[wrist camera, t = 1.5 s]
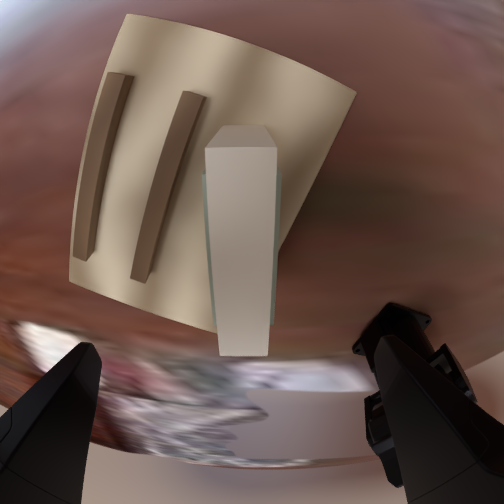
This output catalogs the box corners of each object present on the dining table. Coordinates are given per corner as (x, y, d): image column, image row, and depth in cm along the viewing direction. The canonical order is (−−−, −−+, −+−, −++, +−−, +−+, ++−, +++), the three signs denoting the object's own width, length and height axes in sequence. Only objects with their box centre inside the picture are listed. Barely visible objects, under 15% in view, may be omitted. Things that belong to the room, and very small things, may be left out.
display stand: (351, 92, 16) (366, 92, 14) (233, 329, 26) (232, 350, 24) (132, 16, 13) (118, 8, 11) (73, 274, 23) (61, 291, 20)
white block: (217, 125, 16) (195, 148, 9) (269, 125, 16) (286, 147, 10) (223, 269, 21) (214, 355, 14) (265, 269, 21) (273, 355, 14)
